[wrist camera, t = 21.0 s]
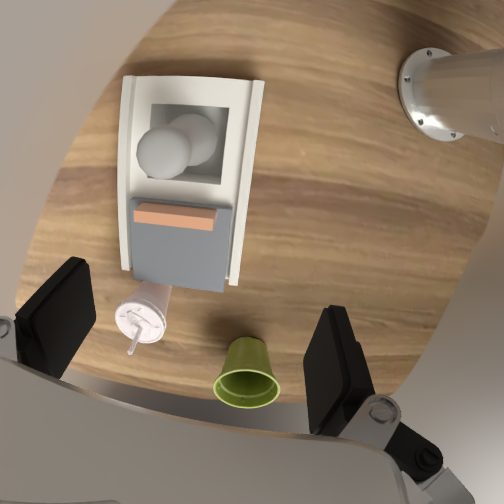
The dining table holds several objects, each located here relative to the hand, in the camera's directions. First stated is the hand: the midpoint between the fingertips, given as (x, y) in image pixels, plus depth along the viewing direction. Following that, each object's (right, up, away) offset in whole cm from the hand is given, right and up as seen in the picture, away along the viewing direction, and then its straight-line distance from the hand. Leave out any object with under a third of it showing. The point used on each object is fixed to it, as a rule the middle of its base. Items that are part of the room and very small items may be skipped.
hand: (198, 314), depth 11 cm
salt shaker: (-4, +15, +21) cm, 26 cm away
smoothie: (-11, -2, +31) cm, 33 cm away
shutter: (-6, +3, +22) cm, 23 cm away
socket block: (-5, +12, +23) cm, 27 cm away
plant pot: (+1, -13, +36) cm, 38 cm away
